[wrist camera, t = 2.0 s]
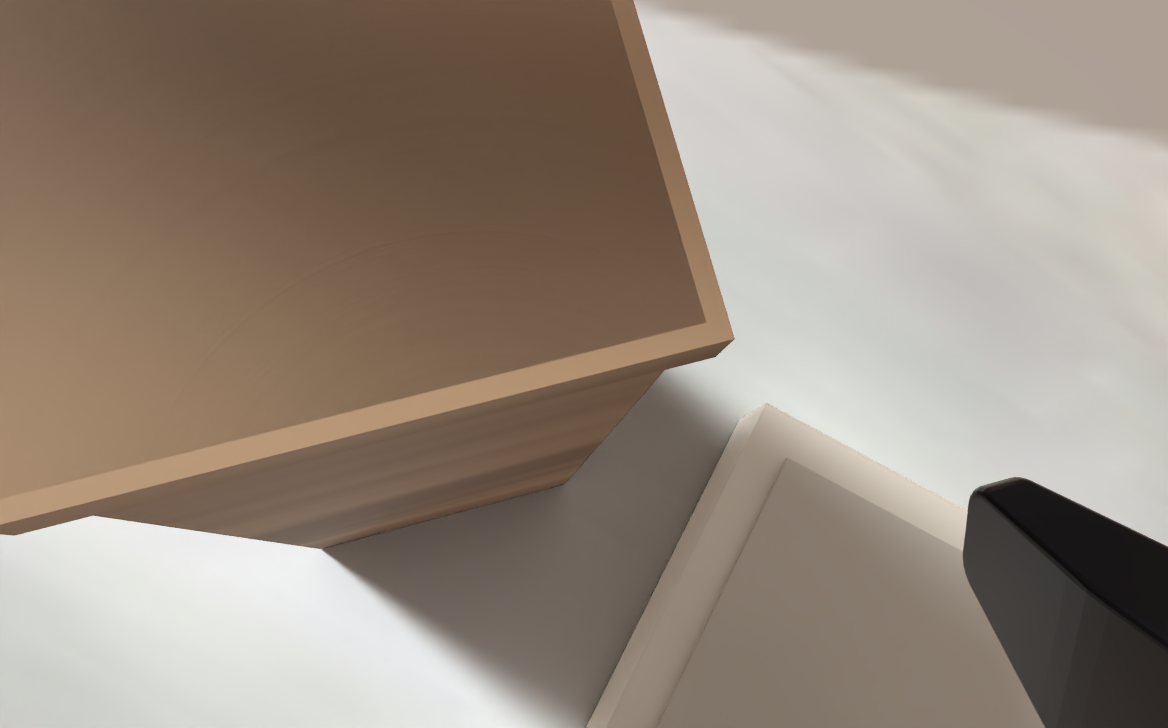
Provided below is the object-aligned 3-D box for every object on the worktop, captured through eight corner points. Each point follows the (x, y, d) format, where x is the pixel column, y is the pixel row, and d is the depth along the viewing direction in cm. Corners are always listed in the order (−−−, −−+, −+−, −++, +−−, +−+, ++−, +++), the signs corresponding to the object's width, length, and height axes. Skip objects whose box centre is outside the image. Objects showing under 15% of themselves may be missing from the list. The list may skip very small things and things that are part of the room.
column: (575, 489, 20) (734, 339, 7) (313, 559, 19) (-29, 532, 6) (509, 244, 21) (546, -290, 8) (256, 303, 20) (-151, -174, 7)
